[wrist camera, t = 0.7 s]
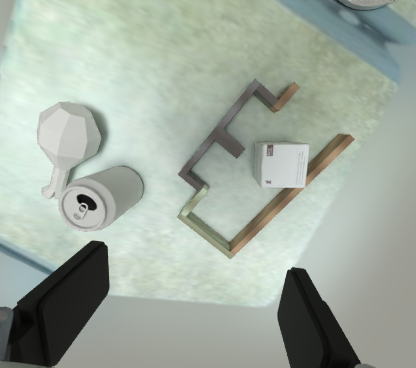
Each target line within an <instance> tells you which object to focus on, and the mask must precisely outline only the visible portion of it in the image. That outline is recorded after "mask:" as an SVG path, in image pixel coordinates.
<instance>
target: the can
mask: <svg viewBox="0 0 416 368" xmlns="http://www.w3.org/2000/svg"><path fill="white" fill-rule="evenodd" d="M142 194H143V185H142V181H141V179H140V177H139V176H138V174H137V173H135V172H134V171H133V170H132V169H129V168H127V167H122V166H118V167H113V168H110V169H107V170H104V171H101V172H98V173H95V174H92V175H89V176H86V177H83V178H80V179H77V180H74V181H73V182H71V183H70V184H68V186H67V187H66V188H65V190H64V191H63V193H62V194H61V195H60V198H59V202H58V205H59V211H60V214H61V216H62V218H63V219H64V220H65V222H66V223H67V224H68V225H70V226H71V227H72V228H74V229H77V230H79V231H85V232H87V231H96V230H102V229H104V228H106V227H107V226H109V225H110V224H111V223H113V222H114V221H115V220H116V219H117V218H119V217H120V216H121V215H122V214H124V213H125V212H126V211H127V210H129V209H130V208H131V207H132V206H133V205H135V204H136V203H137V202H138V201H139V200H140V199H141V196H142Z"/></svg>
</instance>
